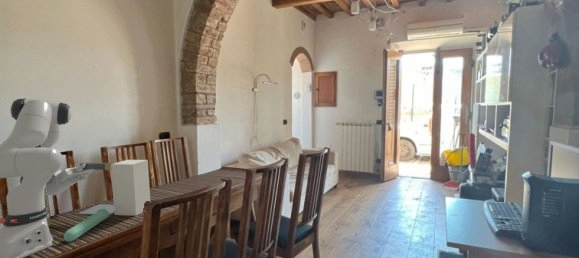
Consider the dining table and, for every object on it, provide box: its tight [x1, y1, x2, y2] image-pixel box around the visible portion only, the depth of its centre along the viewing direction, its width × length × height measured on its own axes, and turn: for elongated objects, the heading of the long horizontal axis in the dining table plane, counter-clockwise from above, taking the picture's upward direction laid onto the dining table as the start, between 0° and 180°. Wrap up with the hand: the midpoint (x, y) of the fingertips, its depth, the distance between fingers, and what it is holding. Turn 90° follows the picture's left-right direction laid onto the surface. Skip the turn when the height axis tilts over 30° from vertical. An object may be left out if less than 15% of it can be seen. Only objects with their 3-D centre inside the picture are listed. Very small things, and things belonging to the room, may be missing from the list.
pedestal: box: [110, 159, 151, 217], centre depth 155 cm, size 12×12×26 cm
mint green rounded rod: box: [63, 209, 109, 242], centre depth 133 cm, size 6×6×25 cm
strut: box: [79, 162, 115, 171], centre depth 157 cm, size 4×20×3 cm, turn 82°
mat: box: [77, 203, 115, 216], centre depth 159 cm, size 14×18×1 cm
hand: (88, 164), depth 158 cm, fingers closed on strut, 3 cm apart
